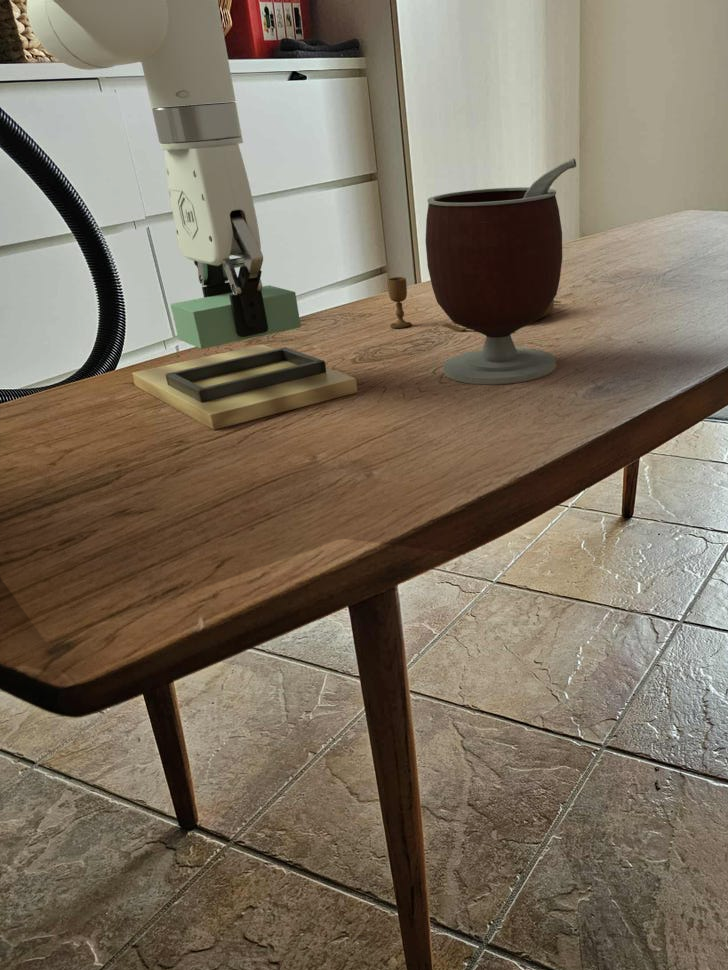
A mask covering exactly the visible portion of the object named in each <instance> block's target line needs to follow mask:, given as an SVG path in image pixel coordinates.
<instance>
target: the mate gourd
mask: <svg viewBox="0 0 728 970" xmlns="http://www.w3.org/2000/svg"><path fill="white" fill-rule="evenodd" d="M574 168H577V160H576V158H571V159H569V160H567V161H565V162H563V163H560V164H558V165H557V166H555V167H554V168H552V169H550V170H549V171H547V172H546V173H544V174H541V176H540V177H538V178H537V179H535V181H534V182H533V183H532V184H531V185H530V187H529V186H528V187H527V186H524V187H521V186H519V187H494V188H482V189H481V188H480V189H471V190H462V191H455V192H449V193H448V192H447V193H442V194H438V195H434V196H433V195H432V196H431V197H429V198H427V203H428V204H427V211H426V218H425V219H426V221H425V222H426V223H425V251H426V262H427V270H428V275H429V279H430V283H431V288H432V291H433V294H434V297H435V300H436V302H437V304H438V305H439V307H440V308H441V309H442V310H443V312H444V313H445V314H446V315H447V317H448V318H449V319H450V320H451V322H452V323H454V324H456V325H458V326H460V327H462V328H469V329H468V330H472V331H474V332H476V333H479V334H482V335H484V336H485V337H486V338H485V340H484V344H483V347H482V349H479V350H474V351H468V352H465V353H460V354H458V355H455V356H453V357H451V358H449V359H448V360H446V362H444V363H443V373H444V375H445V377H447V378H448V379H450V380H452V381H456V382H459V383H464V384H471V385H508V384H517V383H524V382H528V381H532V380H536V379H540V378H543V377H545V376H548V375H549V374H551V373H553V372H554V371H555V370H556V368H557V358H556V357H555V355H554V354H553V353H550V352H548V351H544V350H542V349H541V350H540V349H535V348H528V347H527V348H525V347H516V345H515V343H514V341H513V338H512V334H513V333H515V332H517V331H519V330H521V329H523V328H524V327H526V326H529V325H530V324H533V323H534V322H536V321H539V320H541V319H542V318H541V317H542V316H543V315H544V313H545V312H546V310H547V309H548V307H549V306H550V304H551V302H552V301H553V300H554V299H555V298H556V296H557V294H558V290H559V286H560V280H561V272H562V266H563V228H562V222H561V216H560V215H561V214H560V208H559V204H558V200H557V197H556V195H557V190H556V189H553V188H551V186H552V185H553V184H554V182H555V181H556V180H557V179H558V178H559V177H560V176H561V175H562V174H563V173H564V172H566V171H568V170H570V169H574ZM540 318H541V319H540ZM538 319H539V320H538Z"/></svg>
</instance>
